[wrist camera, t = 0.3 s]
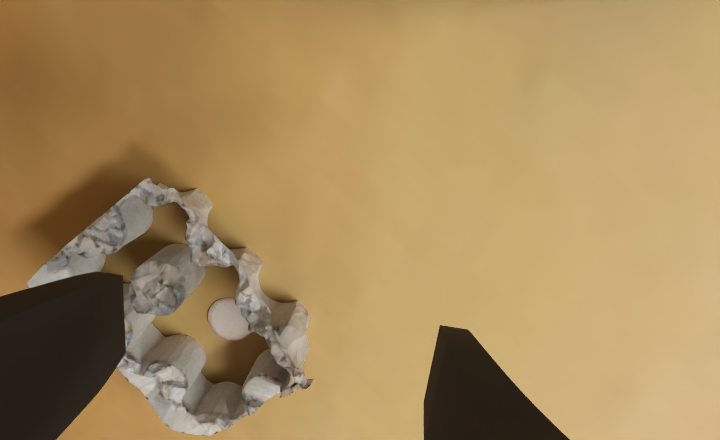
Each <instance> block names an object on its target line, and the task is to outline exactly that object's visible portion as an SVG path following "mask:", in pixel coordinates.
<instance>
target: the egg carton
mask: <svg viewBox="0 0 720 440" xmlns="http://www.w3.org/2000/svg"><path fill="white" fill-rule="evenodd" d="M172 202H177V203H178V204H179V205H180V206H181V207H182V208H183V209H185V211H186V212H187V214H188V215H189V217H190V218H189V220H188V221H187V222H186V224H187V227H188V228H187V231H186V236H185V240H186V242H187V244H188V246H187V245H184V244H179V243H175V244H171V245H168V246H166V247H164V248H162V249H161V250H160V251H159V252H157V253H156V254H155V255H153V256H152V257H151V258H149V259H148V260H147V261H145V262H144V263H142V264H141V265H140V266H139V267H138V268H137V269H136V270H134V272H133V273H132V275H131V282H130V283H125V284H123V295H124V318H125V341H126V353H125V355H124V357H123V358H122V360H121V361H120V363H119V364H118V366H117V368H118V370H119V371H120V372H121V373H122V374H123V376H124V377H125V378H126V379H127V380H128V381H129V382H130V383H132V384H133V385H135V386H136V387H138V388H139V389H140V390H141V392H142V393H143V394H144V396H145V397H146V398H147V400H148V401H149V403H150V404H151V406H152V407H153V409H154V410H155V412H156V413H157V415H158V416H159V418H160V419H161V421H162V422H163V423H165V424H166V425H167V426H168V427H170V428H171V429H172V430H175V431H178V432H181V433H187V434H195V435H203V436H207V435H213V434H215V433H217V432H219V431H221V430H224V429H228V428H229V427H230V426H231V425H232V424H233V423H234V422H236V421H237V420H239V419H240V418H242V417H244V416H245V415H251V414H252V413H254V412H255V411H256V410H257V409H258V408H259V407H260V406H261V405H262V404H263V403H264V402H265V401H266V400H267V399H269V398H271V397H273V396H275V395H276V394H278V393H280V392H281V395H280V397H281V398H282V397H285V396H287V395H289V394H291V393H293V392H294V391H296V390H297V389H299V388H300V387H302V389H306V388H308V387H309V386H310V385H311V383H312V382H313V381H314V379H308V380H307V379H306V377H305V375H304V371H303V370H302V366H303V365H304V363H305V359H306V356H307V354H308V351H309V348H310V344H309V342H308V339H307V337H306V331H307V329H308V326H309V322H310V318H311V317H310V314H309V312H308V311H307V309H306V308H305V307H304V306H303V305H302V304H301V303H300V302H299V301H294V302H291V303H280V302H277V301H274V300H272V299H271V298H269V297H268V296H266V295H265V294H264V293H263V291H262V290H261V288H260V285H259V280H258V275H259V271H260V268H261V267H262V265H263V264H264V261H263V260H262V259H261V258H259V257H258V256H257V255H256V254H254V253H253V252H252V251H250V250H249V248H247V247H245V248H241V249H229V248H227V247H226V246H225V245H224V244H223V243H222V242H221V241H220V240H219V239H218V238H217V237H216V236H215V235H214V234H213V233H212V232H211V231H210V230H209V229H208V222H207V220H208V214H209V212H210V210H211V209H212V207H213V205H212V204H211V202H210V201H209V199H208V198H207V197H206V196H205V195H204V194H203V193H202V192H201V191H199V190H198V189H194V190H191V191H188V192H179V191H177V190H176V189H174V188H169V187H167V186H165V185H164V184H161V183H158V184H157V185H155V184H154V183H152V180H151V179H150V178H146V179H144V180H143V181H142V182H141V183H139V184H138V185H137V186H136V187H135V188H134V189H133V190H131V191H130V192H129V193H128V194H127V195H125V196H124V197H123V198H122V199H121V200H120V201H118V202H117V203H116V204H114V205H113V206H112V207H111V208H110V209H109V210H108V211H106V212H105V213H104V214H103V215H101V216H100V217H99V218H98V219H96V220H95V221H94V222H93V223H92V224H91V225H89V226H88V227H87V228H86V229H85V230H84V231H82V232H81V233H80V234H79V235H78V236H76V237H75V238H74V239H73V240H72V241H71V242H69V243H68V244H67V245H66V246H65V247H63V248H62V249H61V250H60V251H59V252H58V253H57V254H56V255H55V256H53V257H52V258H51V259H50V260H49V261H48V262H47V263H45V264H44V265H43V266H42V267H41V268H40V269H39V270H38V271H37V272H36V274H35V275H34V276H33V277H32V278H31V279H30V280H29V281H28V282H27V285H28V287H29V288H32V287H36V286H39V285H43V284H46V283H50V282H53V281H57V280H61V279H64V278H68V277H72V276H76V275H81V274H85V273H91V272H101V270H102V268H103V266H104V264H105V259H106V255H105V254H107V255H110V254H114V253H115V252H117V251H118V250H119V249H120V248H122V247H123V246H124V245H126V244H128V243H129V242H131V241H133V240H134V239H136V238H137V237H139V236H140V235H142V234H144V233H145V232H146V231H147V230H148V229H149V228H150V226H151V225H152V222H153V210H152V207H151V206H164V205H166V204H169V203H172ZM164 246H165V245H164ZM231 265H233V266H234V267H235V268H236V270H237V272H238V274H239V282H238V286H237V290H236V294H235V299H234V298H221V299H219V300H217V301H215V302H214V303H213V304H212V305H211V307H210V309H209V312H208V322H209V324H210V326H211V327H212V329H213V331H214V333H215V334H217V335H218V336H219V337H222V338H224V339H226V340H241V339H243V338H245V337H247V336H248V335H249V334H250V333H251V332H256V333H258V334H259V335H260V336H261V337H265V340H266V342H267V344H268V347H269V349H267V350H265V351H263V352H262V353H261V354H260V355H259V356H258V358H257V359H256V361H255V363H254V365H253V367H252V368H251V370H250V372H249V374H248V376H247V378H246V380H245V382H244V384H243V387H242V386H240V385H239V384H237V383H233V382H228V381H226V382H220V383H217V384H212V383H211V382H210V381H209V380H207V379H206V378H205V377H204V375H203V374H202V373H201V370H202V369H203V367H204V366H205V362H206V354H205V351H204V349H203V347H202V345H201V344H200V343H199V342H198V341H197V340H195V339H193V338H191V337H190V336H186V335H179V334H176V335H172V336H168V337H165V336H164V335H163V334H161V332H160V331H159V330H158V329H157V328H155V326H154V325H153V324H152V321H153V319H154V318H155V316H165V315H169V314H171V313H173V312H174V311H176V310H177V309H178V308H179V306H180V305H181V304H182V303H183V302H184V301H185V300H186V299H187V298H188V297H189V295H190V294H191V293H192V292H193V291H194V290H195V289H196V288H197V287H198V286H199V284H200V283H201V282H202V280H203V278H204V277H205V266H219V267H229V266H231Z"/></svg>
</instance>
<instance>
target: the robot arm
mask: <svg viewBox="0 0 720 440" xmlns="http://www.w3.org/2000/svg"><path fill="white" fill-rule="evenodd" d="M125 353H126V341H125V318H124V295H123V276H122V275H116V274H109V273H103V272H91V273H85V274H81V275H76V276H72V277H68V278H64V279H61V280H57V281H53V282H50V283H46V284H43V285H39V286H36V287H32V288H29V289H25V290H22V291H18V292H15V293H11V294H8V295H4V296H1V297H0V440H56V439H57V438H58V437H59V436H60V434H61V433H62V432H63V431H64V430H65V429H66V428H67V427H68V426H69V425H70V424H71V422H72V421H73V420H74V419H75V418H76V417H77V416H78V415H79V414H80V412H81V411H82V410H83V409H84V408H85V407H86V406H87V405H88V404H89V402H90V401H91V400H92V399H93V398H94V397H95V396H96V394H97V393H98V392H99V391H100V390H101V388H102V387H103V386H104V384H105V383H106V381H107V380H108V379H109V377H110V376H111V374H112V373H113V372H114V370H115V369H116V367H117V366H118V364H119V363H120V361H121V360H122V358H123V357H124V355H125ZM424 440H570V439H568V438H567V437H566V436H565V435H564V434H563V433H562V432H561V431H560V430H559V429H558V428H557V427H556V426H555V425H554V424H553V423H552V422H551V421H550V420H549V419H548V418H547V417H546V416H545V415H544V414H543V413H542V412H541V411H540V410H539V409H538V408H537V407H536V406H535V405H534V404H533V403H532V402H531V401H530V400H529V399H528V398H527V397H526V396H525V395H524V394H523V393H522V392H521V391H520V389H519V388H518V387H517V386H516V385H515V384H514V383H513V382H512V381H511V379H510V378H509V377H508V376H507V375H506V374H505V373H504V372H503V370H502V369H501V368H500V367H499V366H498V365H497V363H496V362H495V361H494V360H493V359H492V357H491V356H490V355H489V354H488V353H487V351H486V350H485V349H484V348H483V347H482V345H481V344H480V343H479V342H478V341H477V340H476V338H475V337H474V336H473V335H472V334H471V333H470V332H469V330H467V329H460V328H454V327H448V326H441V325H440V328H439V332H438V337H437V342H436V347H435V351H434V356H433V361H432V365H431V370H430V375H429V380H428V384H427V389H426V394H425V399H424Z"/></svg>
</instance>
